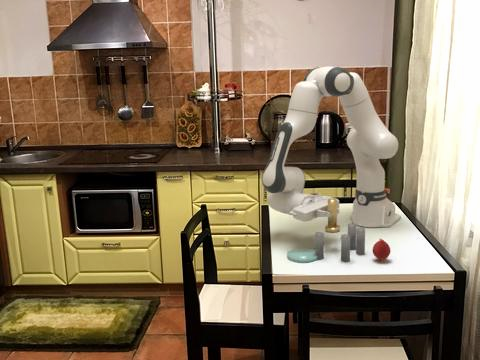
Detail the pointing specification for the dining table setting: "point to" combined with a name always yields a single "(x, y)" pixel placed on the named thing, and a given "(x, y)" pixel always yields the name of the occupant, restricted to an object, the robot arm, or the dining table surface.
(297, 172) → the robot arm
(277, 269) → the dining table surface
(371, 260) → the dining table surface
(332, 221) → the bolt
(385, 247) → the pomegranate
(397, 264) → the dining table surface
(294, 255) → the saucer
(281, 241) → the dining table surface
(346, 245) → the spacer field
